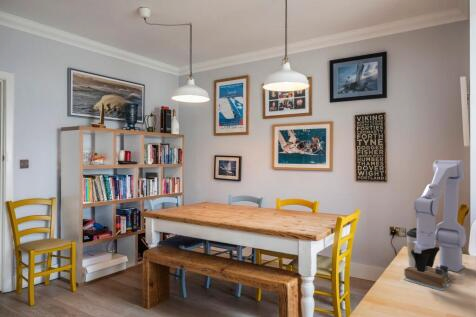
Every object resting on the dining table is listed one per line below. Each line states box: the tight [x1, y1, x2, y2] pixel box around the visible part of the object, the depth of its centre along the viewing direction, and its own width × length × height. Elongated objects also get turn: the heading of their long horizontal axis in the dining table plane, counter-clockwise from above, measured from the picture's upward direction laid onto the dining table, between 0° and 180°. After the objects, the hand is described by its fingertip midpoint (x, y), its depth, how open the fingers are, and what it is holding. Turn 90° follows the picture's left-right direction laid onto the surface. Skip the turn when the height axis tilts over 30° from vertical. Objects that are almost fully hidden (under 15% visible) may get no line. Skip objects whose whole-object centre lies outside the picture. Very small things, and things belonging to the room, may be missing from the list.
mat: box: [403, 278, 451, 292], centre depth 118 cm, size 7×13×1 cm, turn 41°
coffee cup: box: [406, 227, 417, 268], centre depth 136 cm, size 9×9×15 cm
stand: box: [415, 263, 451, 282], centre depth 124 cm, size 6×11×4 cm, turn 41°
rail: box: [404, 266, 448, 288], centre depth 119 cm, size 3×13×3 cm, turn 40°
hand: (425, 268), depth 119 cm, fingers open, 7 cm apart
